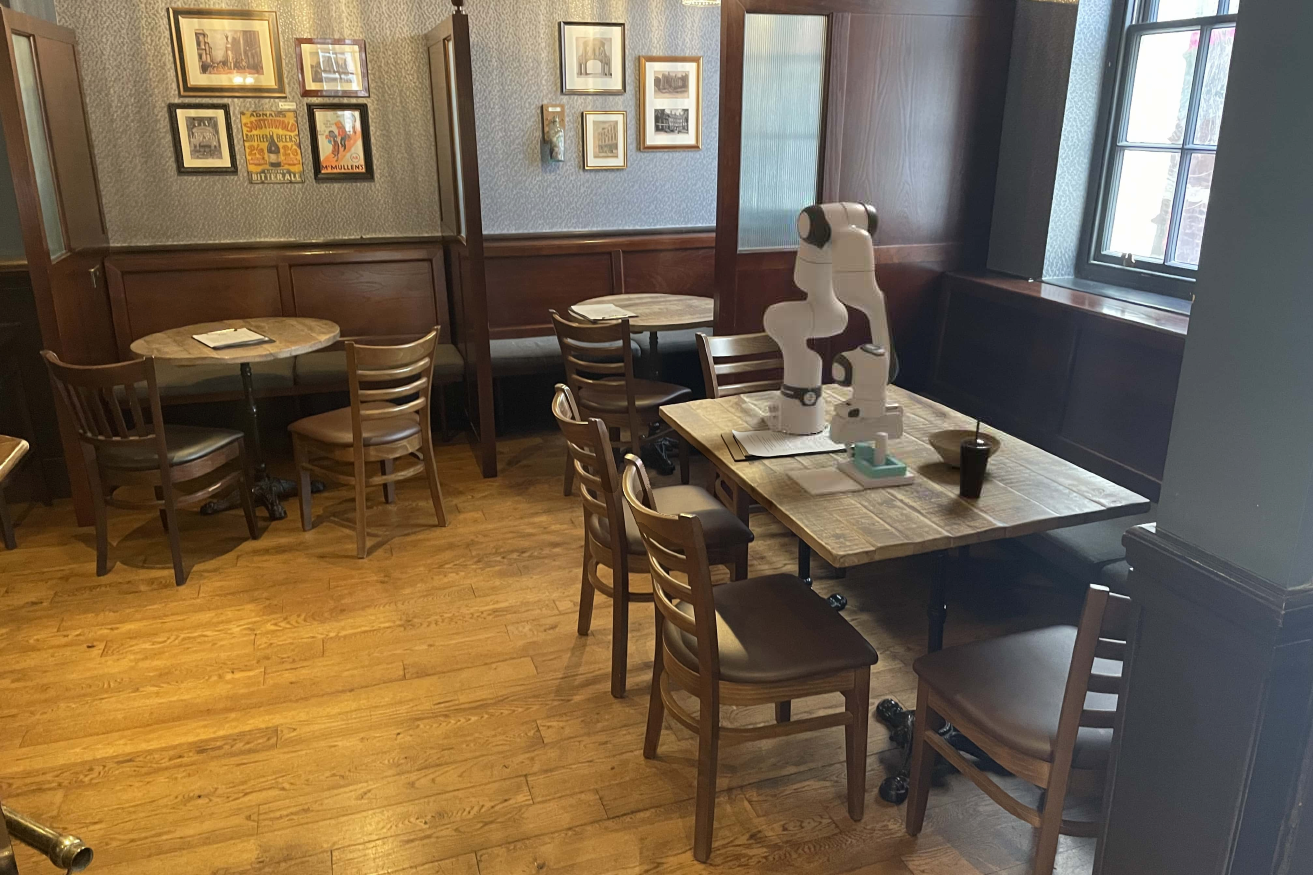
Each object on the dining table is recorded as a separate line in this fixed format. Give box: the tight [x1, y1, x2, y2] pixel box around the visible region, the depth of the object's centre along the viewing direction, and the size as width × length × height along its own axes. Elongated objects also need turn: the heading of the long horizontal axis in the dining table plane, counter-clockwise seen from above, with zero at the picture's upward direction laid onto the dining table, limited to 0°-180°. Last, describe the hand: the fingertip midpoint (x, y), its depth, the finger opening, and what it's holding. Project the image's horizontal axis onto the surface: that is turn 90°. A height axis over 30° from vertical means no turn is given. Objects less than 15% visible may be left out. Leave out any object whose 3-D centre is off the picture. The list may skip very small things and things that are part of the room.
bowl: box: [927, 428, 1002, 469], centre depth 247 cm, size 18×18×8 cm
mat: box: [786, 466, 864, 496], centre depth 237 cm, size 16×14×1 cm
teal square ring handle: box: [852, 442, 908, 479], centre depth 241 cm, size 16×10×4 cm, turn 16°
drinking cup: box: [959, 417, 992, 500], centre depth 225 cm, size 8×8×20 cm
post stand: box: [836, 432, 916, 489], centre depth 240 cm, size 16×14×12 cm
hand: (864, 456), depth 246 cm, fingers open, 7 cm apart
